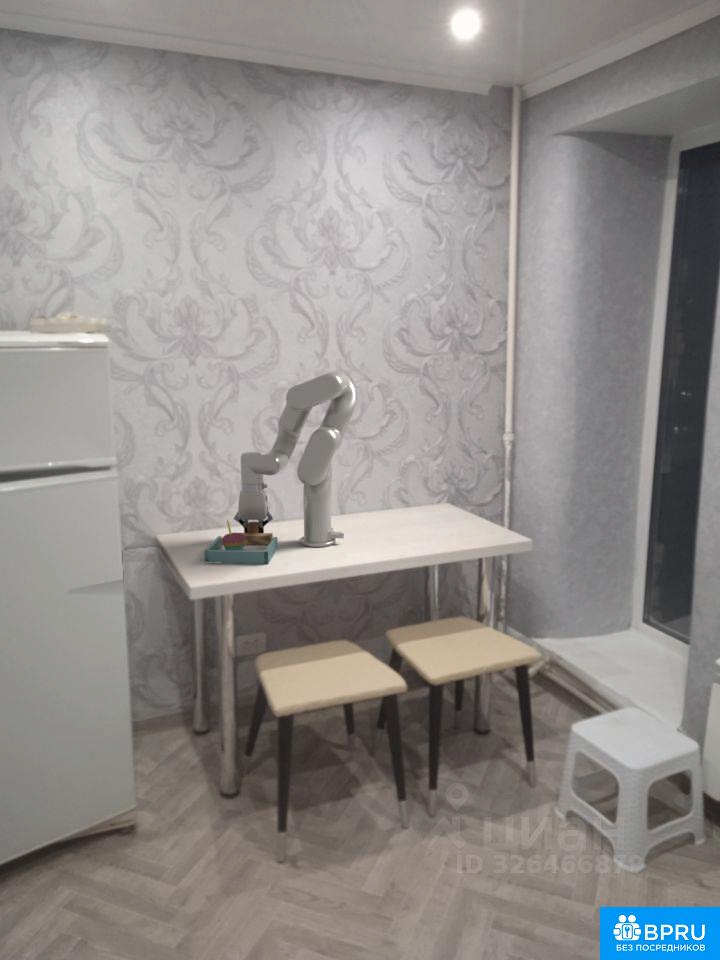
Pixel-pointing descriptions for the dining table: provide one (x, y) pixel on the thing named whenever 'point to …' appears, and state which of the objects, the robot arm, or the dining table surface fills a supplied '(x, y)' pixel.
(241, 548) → the cupcake
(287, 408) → the robot arm
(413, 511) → the dining table surface
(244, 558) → the tray
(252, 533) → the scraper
